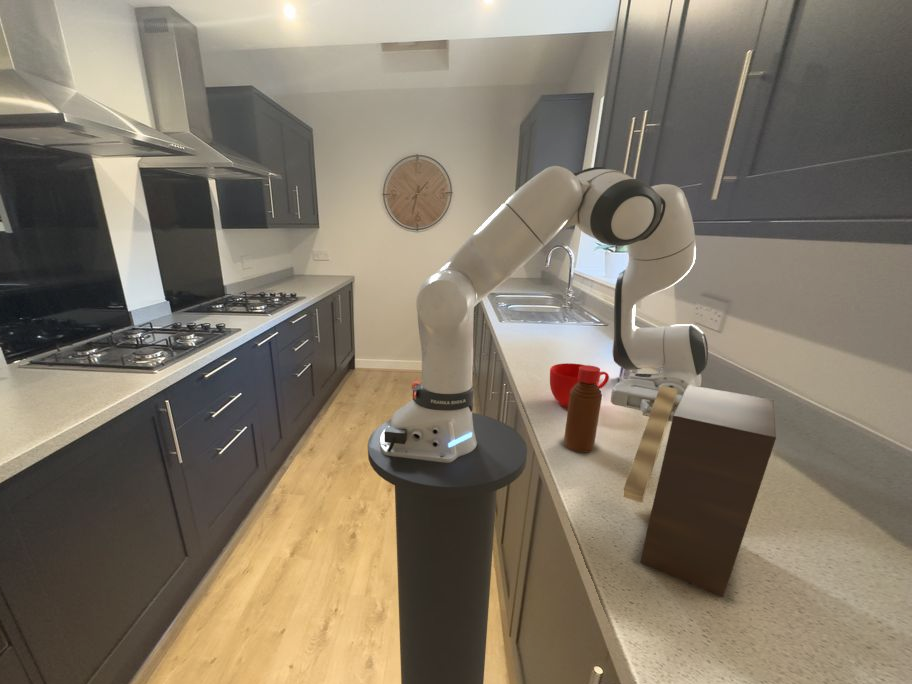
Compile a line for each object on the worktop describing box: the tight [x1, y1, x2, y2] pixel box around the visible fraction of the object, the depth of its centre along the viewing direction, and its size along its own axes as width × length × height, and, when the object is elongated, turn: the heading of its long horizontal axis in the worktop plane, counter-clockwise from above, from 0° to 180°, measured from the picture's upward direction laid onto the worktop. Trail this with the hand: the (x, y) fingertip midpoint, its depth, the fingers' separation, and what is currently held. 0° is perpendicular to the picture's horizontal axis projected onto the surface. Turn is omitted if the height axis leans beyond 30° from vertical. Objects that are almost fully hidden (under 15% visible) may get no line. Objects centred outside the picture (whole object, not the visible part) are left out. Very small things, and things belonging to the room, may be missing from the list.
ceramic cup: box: [549, 362, 610, 408], centre depth 115 cm, size 13×17×10 cm
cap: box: [578, 364, 601, 384], centre depth 88 cm, size 4×4×3 cm
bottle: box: [563, 381, 603, 453], centre depth 91 cm, size 6×6×18 cm
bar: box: [623, 386, 678, 504], centre depth 77 cm, size 25×3×3 cm, turn 141°
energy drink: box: [618, 367, 641, 382], centre depth 131 cm, size 5×5×12 cm
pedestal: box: [639, 385, 777, 597], centre depth 59 cm, size 14×10×24 cm
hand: (659, 415), depth 79 cm, fingers closed on bar, 3 cm apart
